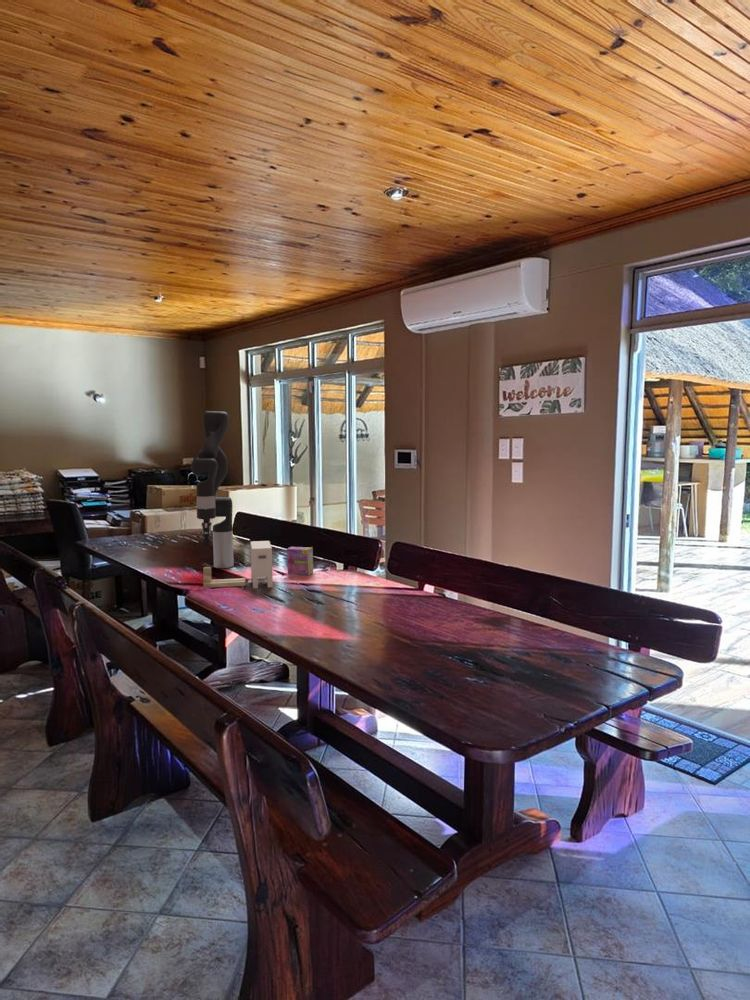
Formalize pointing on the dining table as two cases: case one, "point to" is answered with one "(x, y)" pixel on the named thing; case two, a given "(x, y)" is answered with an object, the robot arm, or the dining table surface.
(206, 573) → the stepped wooden block
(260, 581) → the puck
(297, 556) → the box
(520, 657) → the dining table surface
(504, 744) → the dining table surface
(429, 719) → the dining table surface
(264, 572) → the notched block
